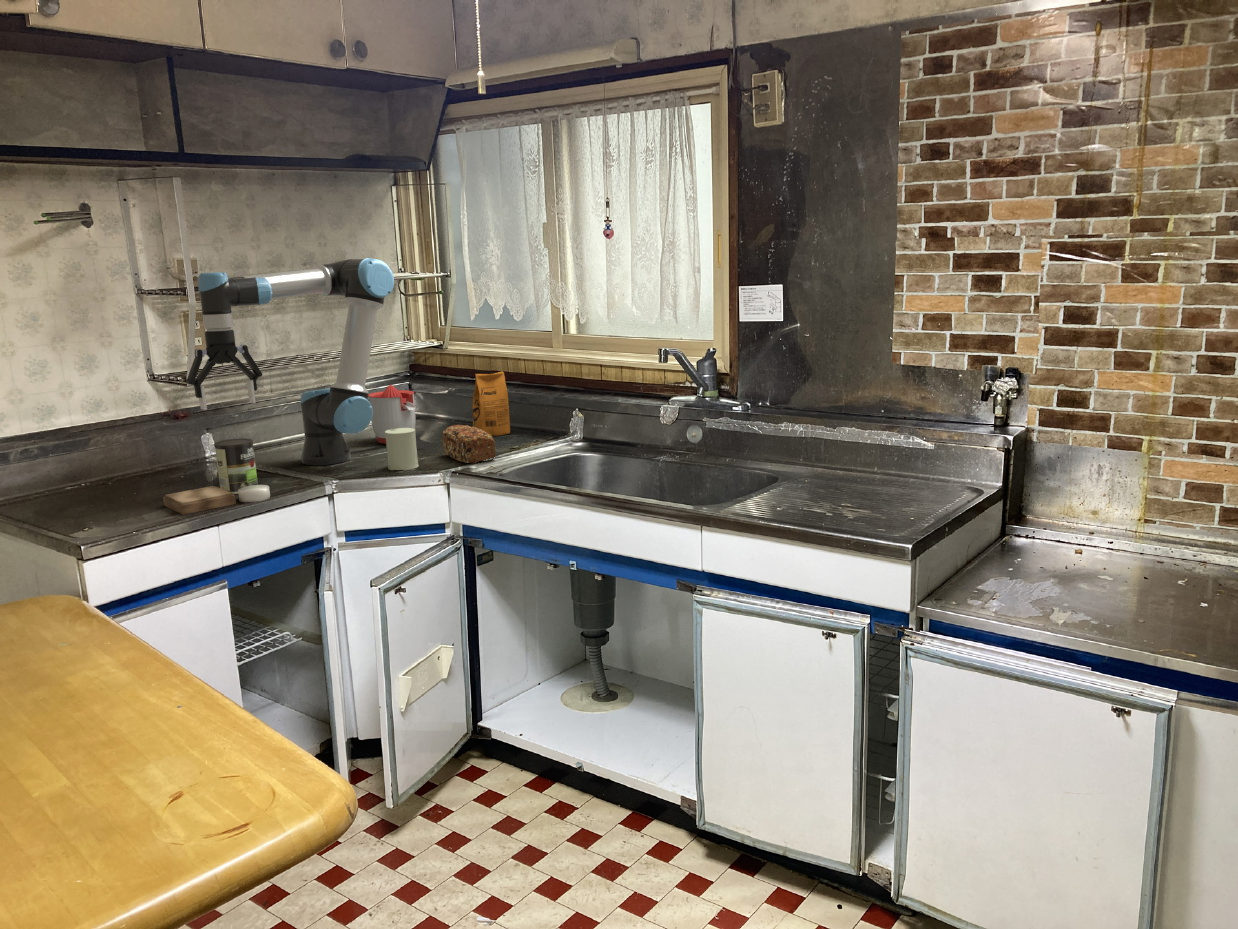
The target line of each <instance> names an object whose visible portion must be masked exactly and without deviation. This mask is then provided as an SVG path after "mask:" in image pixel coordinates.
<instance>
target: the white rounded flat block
mask: <svg viewBox="0 0 1238 929" xmlns="http://www.w3.org/2000/svg"><path fill="white" fill-rule="evenodd" d="M270 492H271V491H270V486H269V485H267V484H258V485H252V486H246V487H243V488H240V489H238V494H237V495H238V500H239V502H242V503H255V502H257V503H258V502H261V501H266V500H268V499H270V498H271V493H270Z"/></svg>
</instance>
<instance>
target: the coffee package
mask: <svg viewBox="0 0 1238 929" xmlns="http://www.w3.org/2000/svg"><path fill="white" fill-rule="evenodd" d="M474 376H475V383H474V391H473V396H472V427H475V428H478V429H481V430H483V431H485V432H487V433H488V434H490V435H491V436H492V437H493V436H495V437H498V436H499V437H500V436H502V435H503V436H505V435H508V434H510V433H511V426H510V425H511V424H510V423H511V420H510V409H509V408H510V406H509V394H508V388H507V383H506V376H505V372H504V371H499V372H495V373H489V374H488V373H475V374H474Z"/></svg>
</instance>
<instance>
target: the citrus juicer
mask: <svg viewBox="0 0 1238 929" xmlns="http://www.w3.org/2000/svg"><path fill="white" fill-rule="evenodd" d="M414 395H415V392H414V391H412V390H407V389H406V390H404V389H403V390H402V389H400V390H399V389H397V388H396V387H395V386H394V385H392V384H389V385H387V387H386V388H385V390H383V391H378V392H377V391H376V392H372V393H369V395H368V401H369V402H370V405H371V406H372V409H373V416H372V419H371V422H370V423H371V427H372V431H373V432H374V436H375V439H376V441H377V442H378V443H379V444H385V445H386V436H385V431H387V430H390V429H396V428H413V429H415V430H416V421H417V420H416V408H417V407H416V404H415V396H414Z"/></svg>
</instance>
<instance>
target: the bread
mask: <svg viewBox="0 0 1238 929" xmlns="http://www.w3.org/2000/svg"><path fill="white" fill-rule="evenodd" d="M441 438H442V445H443V450H444V453H445V455H446V456H447V457H450V458H452V459H454V460H455V461H458V462H460V463H461V462H462V463H465V464H466V463H471V464H476V463H475V462H478V461H482V462H483V460H486V459H490V458H494V457H495V458H496V454H497V453H496V452H497V451H496V441H495V439H494V438H493V436H491V435H490V434H488V433H487V432H485V431H483V430H481V429H478V428H475V427H473V426H469V425H468V424H466V425H463V424H454V425H451V426H447V427H446V429H444V430H443V431H442V437H441ZM478 463H479V462H478Z"/></svg>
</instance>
